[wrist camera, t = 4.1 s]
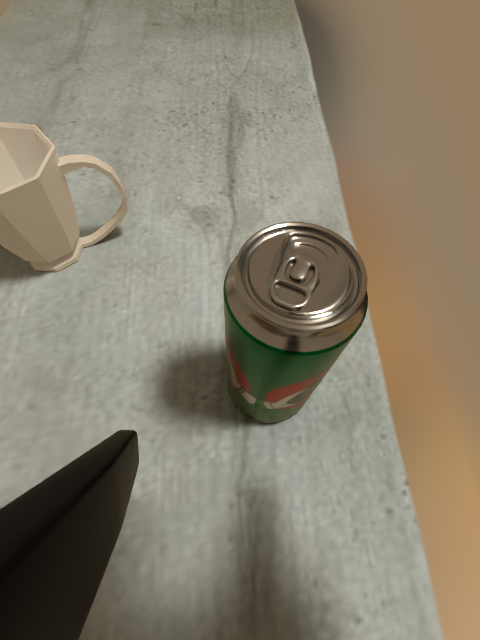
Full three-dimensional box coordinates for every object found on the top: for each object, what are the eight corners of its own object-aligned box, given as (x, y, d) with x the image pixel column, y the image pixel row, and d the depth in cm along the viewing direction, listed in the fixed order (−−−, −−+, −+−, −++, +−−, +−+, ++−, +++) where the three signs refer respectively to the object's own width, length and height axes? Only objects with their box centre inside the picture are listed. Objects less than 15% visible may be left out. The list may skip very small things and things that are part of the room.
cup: (7, 227, 27) (-72, 130, 20) (132, 202, 29) (99, 104, 22) (7, 297, 24) (-87, 212, 17) (146, 265, 26) (114, 174, 19)
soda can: (317, 366, 22) (396, 242, 12) (289, 440, 20) (355, 369, 9) (247, 336, 23) (260, 196, 13) (213, 403, 21) (194, 300, 10)
